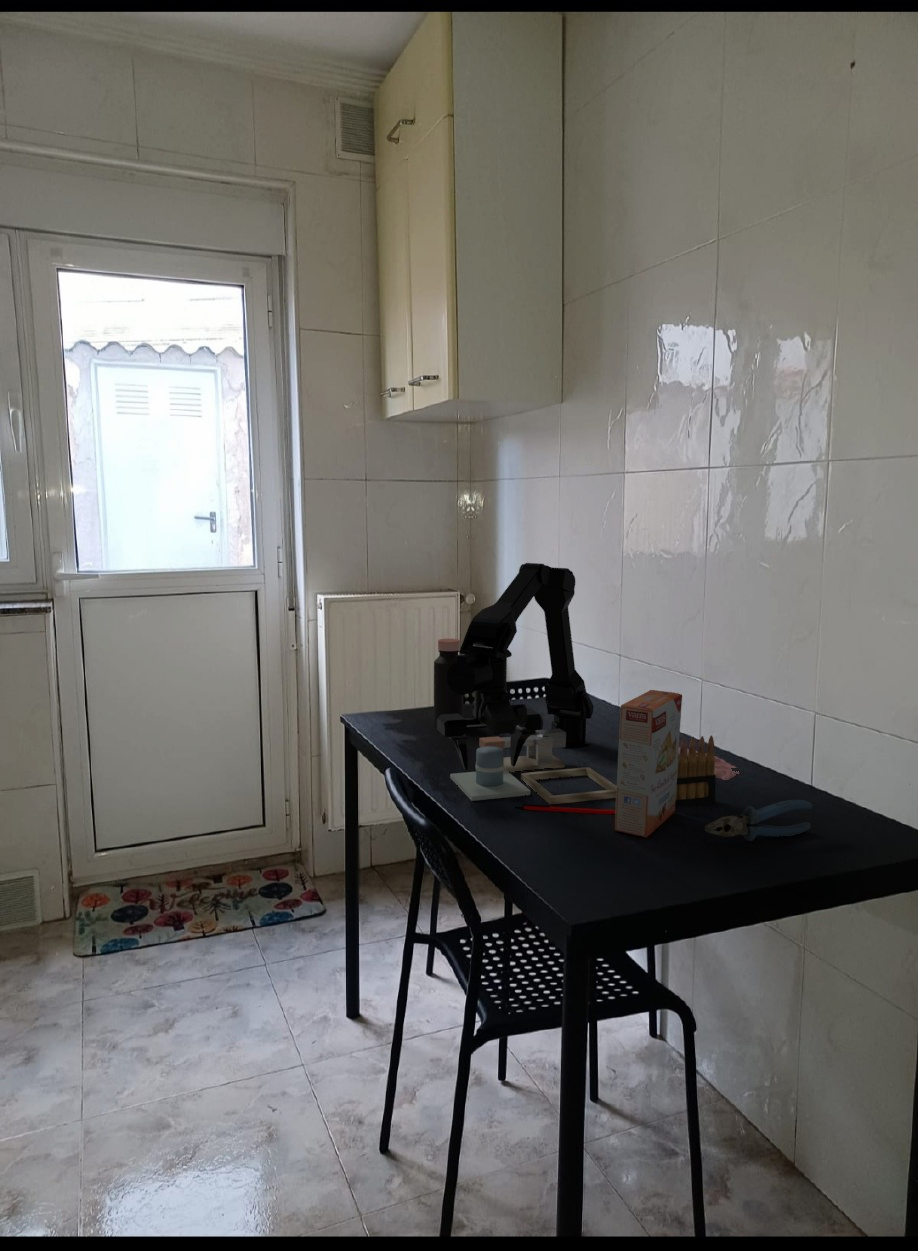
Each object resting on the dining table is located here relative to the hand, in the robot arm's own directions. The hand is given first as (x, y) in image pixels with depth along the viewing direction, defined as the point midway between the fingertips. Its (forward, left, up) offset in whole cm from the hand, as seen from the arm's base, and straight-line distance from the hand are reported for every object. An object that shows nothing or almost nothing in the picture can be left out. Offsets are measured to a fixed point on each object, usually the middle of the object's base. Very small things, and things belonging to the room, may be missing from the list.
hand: (489, 767), depth 161 cm
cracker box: (-19, +24, -4) cm, 31 cm away
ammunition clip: (-30, +18, -4) cm, 35 cm away
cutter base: (-12, -10, -4) cm, 16 cm away
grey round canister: (0, 0, -3) cm, 3 cm away
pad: (0, 0, -4) cm, 4 cm away
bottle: (-5, -43, -4) cm, 43 cm away
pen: (-9, +16, -4) cm, 19 cm away
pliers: (-32, +36, -4) cm, 48 cm away
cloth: (-43, -3, -4) cm, 43 cm away
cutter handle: (-11, -10, 0) cm, 14 cm away
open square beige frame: (-14, +5, -4) cm, 15 cm away
